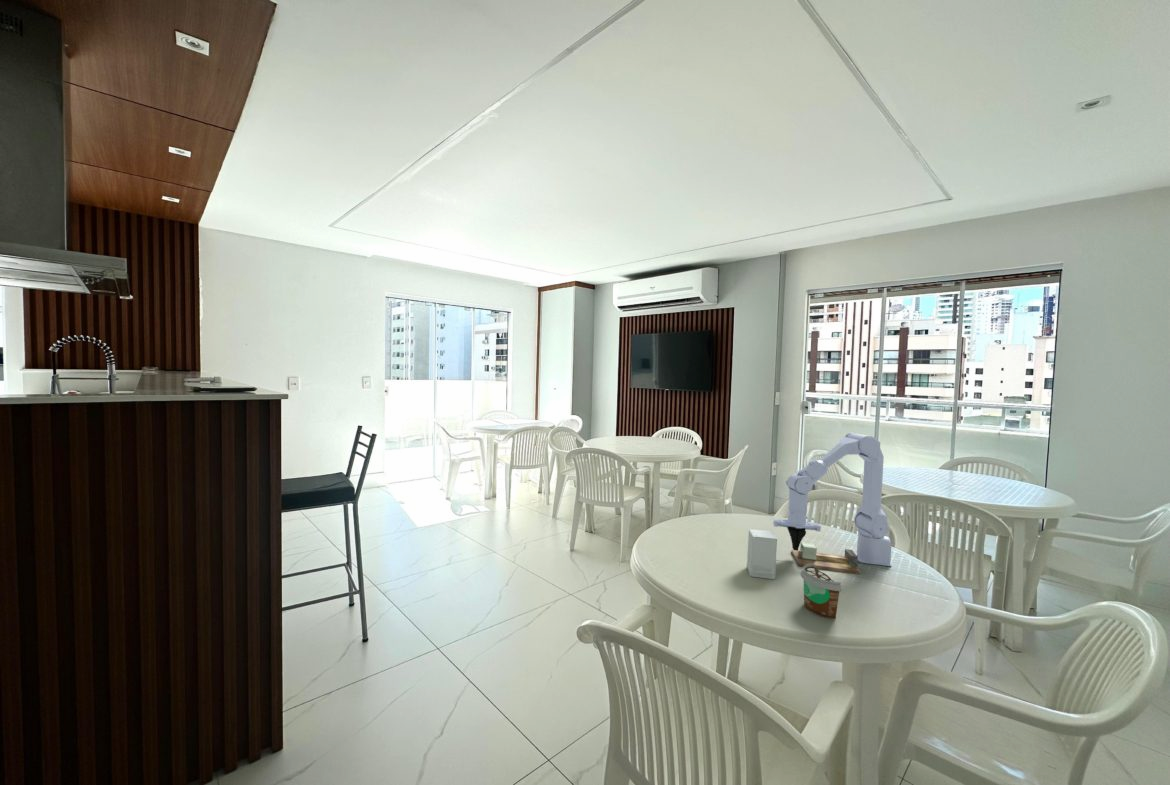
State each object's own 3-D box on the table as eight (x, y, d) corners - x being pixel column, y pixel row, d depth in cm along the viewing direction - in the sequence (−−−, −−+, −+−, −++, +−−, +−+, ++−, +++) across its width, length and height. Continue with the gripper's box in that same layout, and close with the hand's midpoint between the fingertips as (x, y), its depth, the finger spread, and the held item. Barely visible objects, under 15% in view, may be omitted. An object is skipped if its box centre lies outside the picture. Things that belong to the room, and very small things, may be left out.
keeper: (812, 554, 154) (813, 543, 153) (816, 559, 149) (816, 548, 149) (800, 553, 154) (800, 542, 154) (803, 558, 150) (803, 546, 150)
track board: (847, 559, 154) (848, 546, 154) (859, 574, 143) (860, 560, 142) (791, 552, 159) (792, 539, 158) (798, 566, 147) (799, 552, 147)
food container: (790, 597, 125) (792, 562, 125) (810, 597, 126) (813, 562, 125) (816, 621, 113) (818, 583, 113) (839, 621, 114) (841, 583, 113)
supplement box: (775, 579, 136) (777, 538, 136) (750, 576, 138) (752, 536, 137) (770, 569, 144) (772, 530, 143) (746, 566, 145) (748, 528, 144)
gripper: (776, 510, 150) (774, 550, 151) (824, 515, 147) (821, 556, 147) (773, 505, 157) (771, 543, 158) (818, 509, 153) (816, 548, 154)
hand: (795, 549), depth 153 cm, fingers closed
